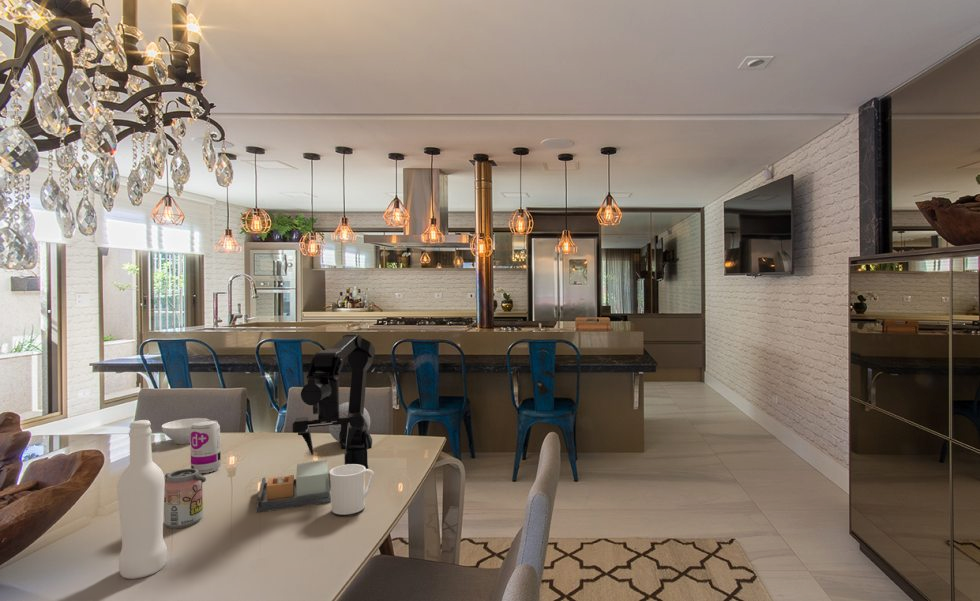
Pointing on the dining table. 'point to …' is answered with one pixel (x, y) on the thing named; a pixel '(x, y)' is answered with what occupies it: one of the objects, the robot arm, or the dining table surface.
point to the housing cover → (312, 478)
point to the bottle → (141, 508)
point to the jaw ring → (280, 487)
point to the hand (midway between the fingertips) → (329, 452)
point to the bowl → (180, 429)
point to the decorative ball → (344, 413)
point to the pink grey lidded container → (183, 498)
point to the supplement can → (205, 446)
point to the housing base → (289, 498)
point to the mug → (349, 489)
